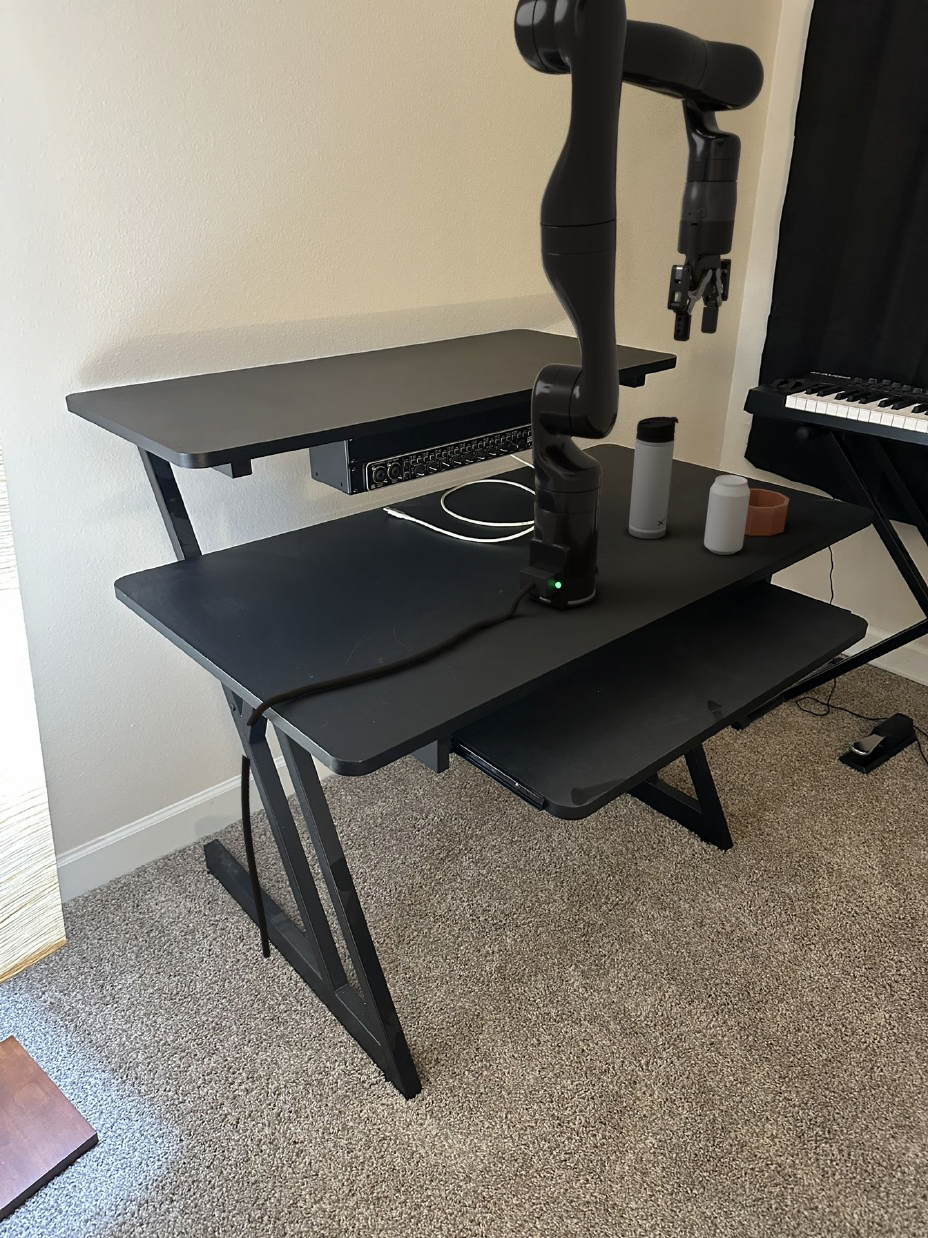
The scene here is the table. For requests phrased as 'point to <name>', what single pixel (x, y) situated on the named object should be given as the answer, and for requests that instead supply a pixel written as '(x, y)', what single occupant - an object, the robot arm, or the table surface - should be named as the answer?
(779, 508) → the holder
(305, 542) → the table surface
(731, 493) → the beverage can
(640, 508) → the travel mug
